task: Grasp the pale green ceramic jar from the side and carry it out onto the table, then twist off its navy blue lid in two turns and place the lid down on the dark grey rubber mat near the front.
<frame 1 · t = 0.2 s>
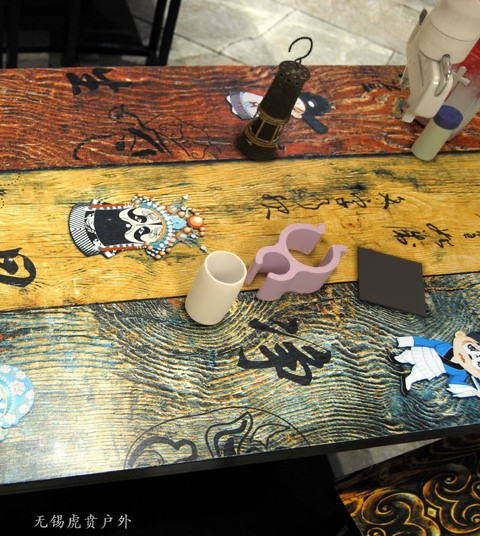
hand: (404, 102, 134), 34 cm above the table, tool pointing down, fingers open, 8 cm apart
lantern: (255, 147, 172), on the table
red white cross box: (430, 121, 188), on the table
jar: (422, 152, 180), on the table
cup: (202, 311, 142), on the table
lid: (449, 114, 170), point 12 cm above the table, screwed on, not yet turned
clip: (286, 273, 150), on the table
mat: (390, 281, 153), on the table
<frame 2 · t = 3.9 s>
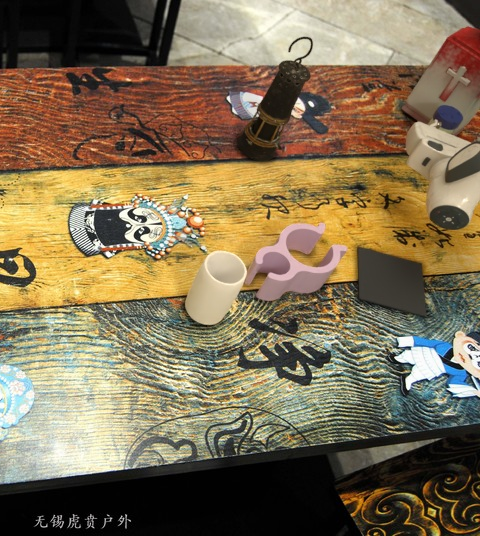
hand: (457, 131, 159), 17 cm above the table, tool horizontal, fingers open, 8 cm apart
nothing on the table moved.
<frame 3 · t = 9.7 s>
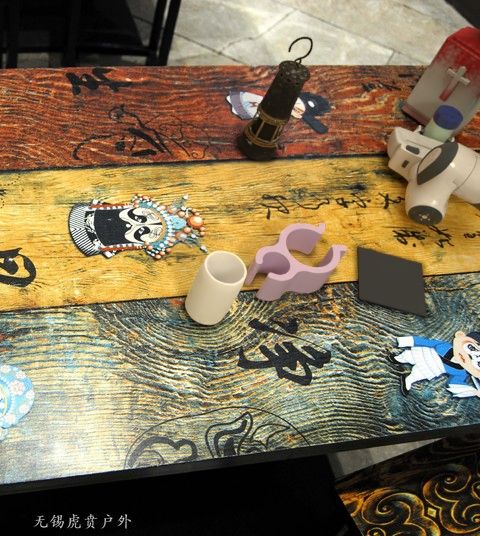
hand: (434, 133, 176), 6 cm above the table, tool horizontal, fingers closed on jar, 6 cm apart
jar: (422, 152, 180), on the table, touching gripper
everything else where it was.
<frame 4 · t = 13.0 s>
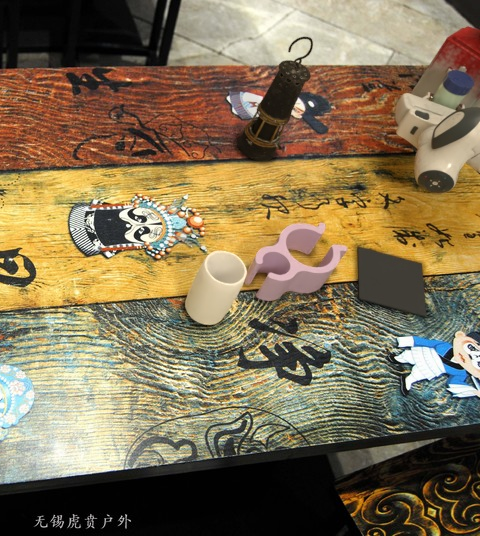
hand: (444, 100, 169), 15 cm above the table, tool horizontal, fingers closed on jar, 6 cm apart
jar: (431, 120, 173), point 9 cm above the table, touching gripper
lid: (460, 79, 163), point 21 cm above the table, screwed on, not yet turned
everything else where it was.
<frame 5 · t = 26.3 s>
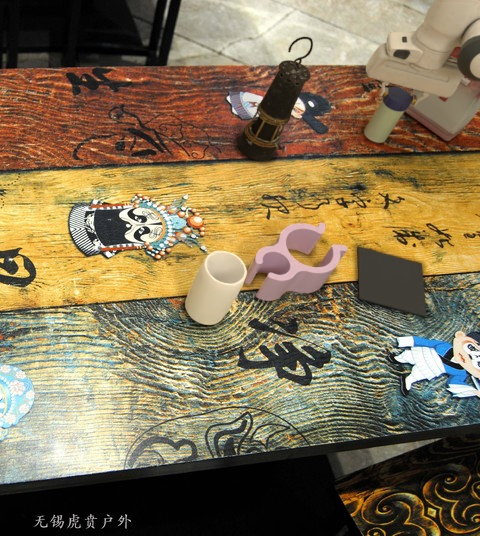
hand: (396, 99, 172), 11 cm above the table, tool pointing down, fingers closed on lid, 6 cm apart
jar: (375, 134, 181), on the table
lid: (399, 96, 171), point 12 cm above the table, screwed on, not yet turned, touching gripper
everything else where it was.
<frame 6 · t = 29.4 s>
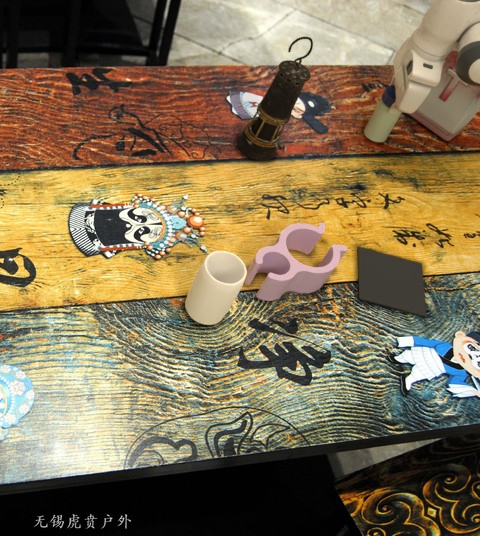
hand: (391, 101, 173), 10 cm above the table, tool pointing down, fingers closed on lid, 6 cm apart
jar: (375, 134, 181), on the table, touching gripper
lid: (397, 94, 171), point 12 cm above the table, turned 89° so far, risen 0.2 cm, still on its thread, touching gripper
everything else where it was.
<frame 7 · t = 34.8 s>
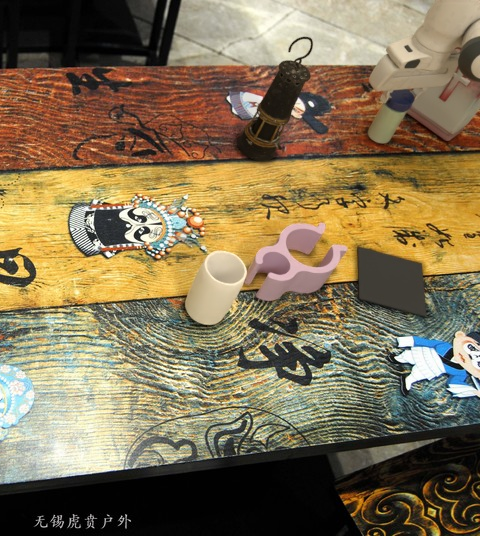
hand: (396, 100, 172), 11 cm above the table, tool pointing down, fingers closed on lid, 6 cm apart
jar: (379, 134, 181), on the table
lid: (401, 96, 170), point 13 cm above the table, turned 120° so far, risen 0.3 cm, still on its thread, touching gripper
everything else where it was.
when the fingers open (1 cm above the table, at t = 45.3 s): lid stays where it is, resting on mat.
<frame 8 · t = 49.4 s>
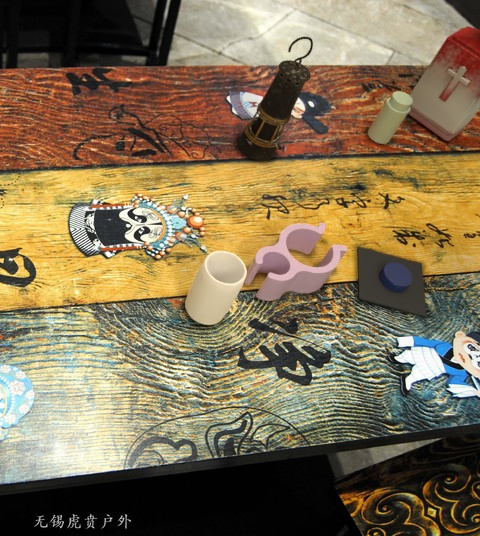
lid: (397, 274, 151), point 2 cm above the table, off its thread, touching mat
at the end: jar inside the target area (1.0 cm from its centre), on the table; lid inside the target area on the mat (0.3 cm from its centre), point 2.3 cm above the mat's base; the gripper is holding nothing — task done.
